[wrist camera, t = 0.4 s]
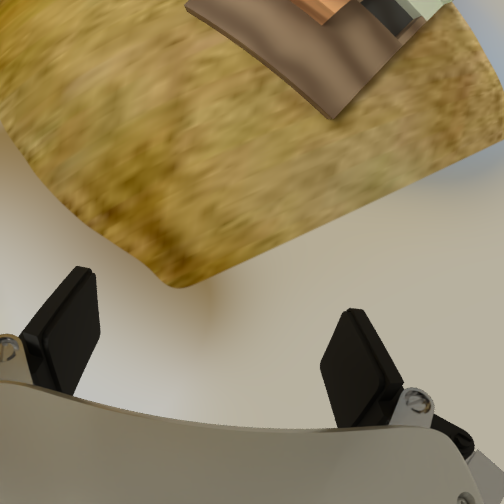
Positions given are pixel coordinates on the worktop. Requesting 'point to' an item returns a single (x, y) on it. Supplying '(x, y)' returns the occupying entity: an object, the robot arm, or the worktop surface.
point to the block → (320, 8)
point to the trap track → (314, 42)
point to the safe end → (422, 7)
